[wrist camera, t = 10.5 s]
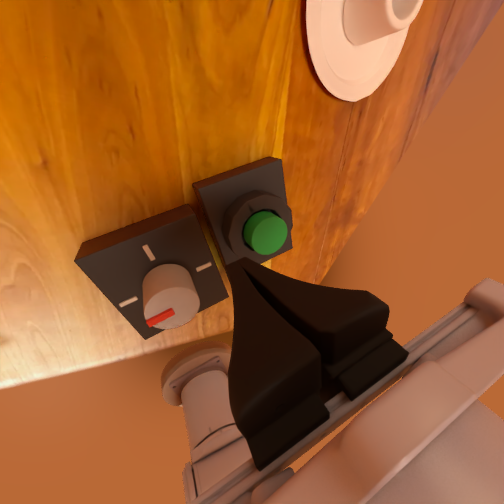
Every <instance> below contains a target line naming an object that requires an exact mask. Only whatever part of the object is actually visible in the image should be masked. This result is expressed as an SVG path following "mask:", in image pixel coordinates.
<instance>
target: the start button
mask: <svg viewBox="0 0 504 504" xmlns="http://www.w3.org/2000/svg"><path fill="white" fill-rule="evenodd" d="M286 237H287V226H286V224H285V222H284V221H283V220H282V219H281V218H279V217H278V216H276V215H274V214H273V213H271V212H268V211H260V212H257V213H255V214H254V215H252V216H251V217H250V218H249V219H248V221H247V222H246V224H245V227H244V238H245V241H246V242H247V243H248V244H249V245H250V246H251V247H252V248H253V249H254V250H255V251H256V252H257V253H259V254H262V255H269V254H272V253H274V252H276V251H277V250H278V249H280V247H281V246H282V245H283V244H284V242H285V240H286Z"/></svg>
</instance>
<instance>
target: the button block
mask: <svg viewBox="0 0 504 504" xmlns="http://www.w3.org/2000/svg"><path fill="white" fill-rule="evenodd" d="M193 187H194V190H195V192H196V195H197V198H198V200H199V203H200V205H201V208H202V211H203V213H204V216H205V219H206V221H207V224H208V226H209V229H210V232H211V234H212V237H213V240H214V242H215V245H216V247H217V250H218V253H219V255H220V258H221V260H222V263H223V266H224V268H225V266H226V265H228V264H230V263H232V262H234V261H236V260H239V259H241V258H243V257H248V258H249V259H251V260H253V261H255V262H257V263H259V264H261V263H263V262H265V261H267V260H269V259H271V258H273V257H275V256H277V255H280V254H282V253H284V252H286V251H288V250H290V249H292V248H293V247H292V239H291V229H292V225H293V223H292V214H291V209H290V208H289V207H288V205H287V199H286V192H285V184H284V176H283V168H282V160H281V159H278V158H273V157H267V158H264V159H261V160H258V161H256V162H253V163H250V164H247V165H244V166H241V167H239V168H236V169H233V170H230V171H227V172H224V173H222V174H219V175H216V176H213V177H210V178H207V179H204V180H202V181H199V182H196V183H193ZM260 211H268V212H271V213H273V214H274V215H276V216H278V217H279V218H281V219H282V220H283V221H284V222H285V224H286V226H287V237H286V240H285V242H284V244H283V245H282V246H281V247H280V249H278V250H277V251H276V252H274V253H272V254H269V255H262V254H259V253H257V252H256V251H255V250H254V249H253V248H252V247H251V246H250V245H249V244H248V243H247V242H246V241H245V238H244V227H245V224H246V222H247V221H248V219H249V218H250V217H251V216H252V215H254V214H255V213H257V212H260Z"/></svg>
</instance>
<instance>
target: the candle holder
mask: <svg viewBox="0 0 504 504" xmlns="http://www.w3.org/2000/svg"><path fill="white" fill-rule="evenodd" d="M422 2H423V0H307V2H306V29H307V39H308V45H309V50H310V55H311V59H312V62H313V65H314V68H315V70H316V73H317V75H318V77H319V79H320V80H321V82H322V83H323V85H324V86H325V88H326V89H327V90H328V91H329V92H330V93H331V94H333V95H334V96H336V97H337V98H339V99H342V100H346V101H352V102H355V101H358V100H360V99H362V98H364V97H366V96H369V95H371V94H372V93H373V92H374V91H375V90H376V89H377V88H378V87H379V85H380V84H381V83H382V82H383V81H384V79H385V78H386V77H387V75H388V74H389V72H390V71H391V69H392V68H393V66H394V64H395V62H396V60H397V58H398V56H399V54H400V52H401V49H402V47H403V44H404V41H405V38H406V35H407V32H408V28H409V25H410V23H411V22H412V21H413V20H414V18H415V17H416V15H417V14H418V12H419V10H420V7H421V5H422Z"/></svg>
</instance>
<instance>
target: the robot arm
mask: <svg viewBox="0 0 504 504" xmlns="http://www.w3.org/2000/svg"><path fill="white" fill-rule="evenodd" d="M225 271H226V274H227V276H228V279H229V282H230V284H231V288H232V295H233V304H234V332H233V343H232V352H231V358H230V364H229V369H228V370H227V369H226V367H225V365H224V364H223V362H222V360H221V359H220V357H219V356H215V357H213V358H211V359H210V360H208V361H206V362H205V363H203V364H201V365H199V366H198V367H196V368H194V369H192V370H191V371H189V372H187V373H186V374H184V375H182V376H180V377H179V378H177V379H175V380H174V381H172V382H170V384H169V387H170V388H171V389H172V390H173V391H174V392H175V393H176V394H177V395H178V396H179V397H180V398H181V399H182V405H183V411H184V417H185V422H186V428H187V433H188V439H189V445H190V454H191V462H192V465H191V464H190V462H188V463H186V464H185V468H184V470H183V472H182V475H183V484H184V492H185V499H186V504H504V420H503V419H501V418H500V417H499V416H498V415H496V414H495V413H494V412H493V411H491V410H490V409H489V408H488V407H486V406H485V405H484V404H483V403H481V402H480V401H479V400H478V398H479V397H480V396H481V395H482V394H483V393H484V392H485V391H486V390H487V389H488V388H489V387H490V386H492V384H494V383H495V382H496V381H497V380H498V379H499V378H500V377H501V376H502V375H503V374H504V284H501V283H499V282H496V281H494V280H492V279H489V278H485V279H484V280H482V281H481V282H480V283H478V284H477V285H476V286H474V287H473V288H472V289H471V290H470V291H469V292H468V293H467V295H466V296H465V298H464V302H463V303H461V304H460V305H458V306H457V307H456V308H454V309H453V310H452V311H450V312H449V313H448V314H446V315H445V316H443V317H442V318H441V319H439V320H438V321H437V322H435V323H434V324H433V325H431V326H430V327H429V328H427V329H426V330H424V331H423V332H422V333H420V334H419V335H418V336H416V337H415V338H413V339H412V340H411V341H409V342H408V343H407V344H405V345H404V346H403V347H402V346H400V345H399V344H398V343H397V342H396V341H394V340H393V339H392V337H393V335H392V333H391V332H389V331H388V330H387V329H386V324H387V321H388V317H389V307H388V305H387V304H385V303H384V302H383V301H381V300H380V299H379V298H377V297H376V296H375V295H373V294H371V293H370V292H368V291H363V290H349V289H340V288H332V287H326V286H320V285H316V284H311V283H307V282H303V281H300V280H296V279H293V278H290V277H287V276H285V275H282V274H280V273H277V272H275V271H273V270H271V269H269V268H266V267H264V266H262V265H260V264H259V263H257V262H255V261H253V260H251V259H249V258H248V257H243V258H241V259H239V260H236V261H234V262H232V263H230V264H228V265H226V266H225ZM402 376H403V377H402ZM401 377H402V379H401V380H400V381H399V382H398V383H396V384H395V385H394V386H393V387H391V388H390V389H389V390H387V391H386V392H385V393H384V394H382V395H381V396H380V397H379V398H377V399H376V400H375V401H373V402H372V403H371V404H370V405H368V406H367V407H366V408H365V409H364V410H363V411H361V412H360V413H359V414H358V415H357V416H356V417H355V418H354V419H353V420H352V421H351V423H349V425H348V426H346V427H345V428H344V429H343V430H342V431H341V432H340V433H338V434H337V435H336V436H335V437H334V438H333V439H332V440H331V441H330V442H329V443H328V444H327V445H325V446H324V447H323V448H322V449H321V450H320V451H319V452H318V453H317V454H316V455H315V456H313V457H312V458H311V459H310V460H309V461H308V462H307V463H306V464H305V465H304V466H303V467H301V468H300V469H299V470H298V471H297V472H296V473H294V471H293V469H292V468H290V467H288V466H289V465H290V464H291V463H293V462H294V461H295V460H297V459H298V458H299V457H300V456H302V455H303V454H304V453H305V452H307V451H308V450H309V449H311V448H312V447H313V446H314V445H316V444H317V443H318V442H320V441H321V440H322V439H323V438H325V437H326V436H327V435H329V434H330V433H331V432H332V431H334V430H335V429H336V428H337V427H339V426H340V425H341V424H343V423H344V422H345V421H346V420H348V419H349V418H350V417H351V416H353V415H354V414H355V413H356V412H358V411H359V410H360V409H362V408H363V407H364V406H365V405H367V404H368V403H369V402H371V401H372V400H373V399H374V398H375V397H377V396H378V395H379V394H381V393H382V392H383V391H384V390H386V389H387V388H388V387H389V386H391V385H392V384H394V383H395V382H396V381H397V380H399V379H400V378H401ZM286 467H288V468H287V469H285V468H286ZM284 469H285V470H284Z"/></svg>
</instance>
